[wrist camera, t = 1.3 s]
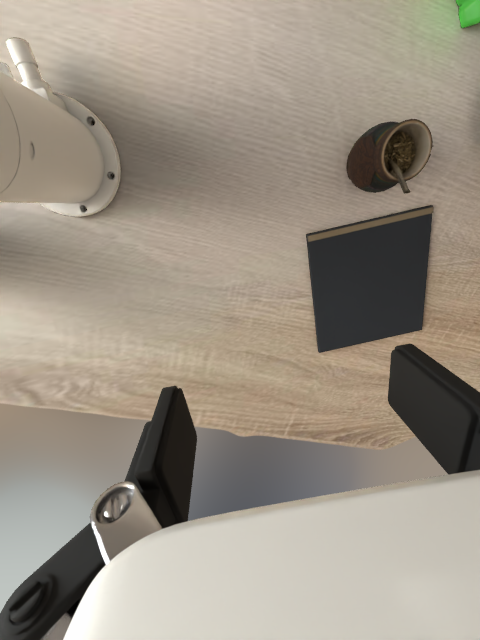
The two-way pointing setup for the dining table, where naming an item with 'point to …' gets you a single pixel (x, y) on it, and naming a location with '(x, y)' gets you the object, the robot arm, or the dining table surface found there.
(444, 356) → the dining table surface
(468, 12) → the fruit basket
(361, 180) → the mate gourd
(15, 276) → the dining table surface
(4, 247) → the dining table surface
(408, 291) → the mat
